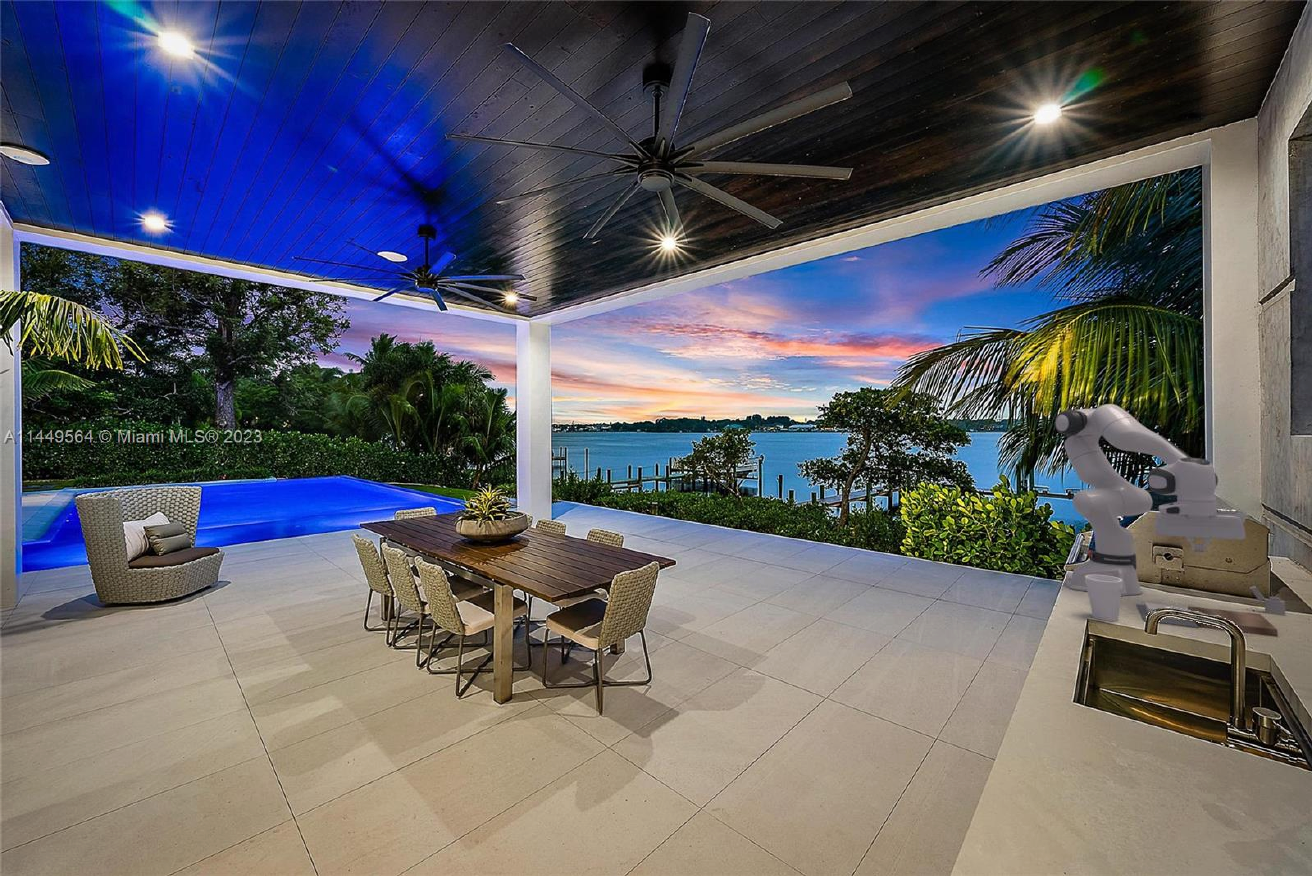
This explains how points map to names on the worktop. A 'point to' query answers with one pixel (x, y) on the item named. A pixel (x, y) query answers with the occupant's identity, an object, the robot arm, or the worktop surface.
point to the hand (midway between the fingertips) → (1198, 551)
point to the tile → (1153, 606)
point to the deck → (1240, 621)
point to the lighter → (1270, 603)
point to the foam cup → (1104, 596)
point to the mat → (1167, 619)
